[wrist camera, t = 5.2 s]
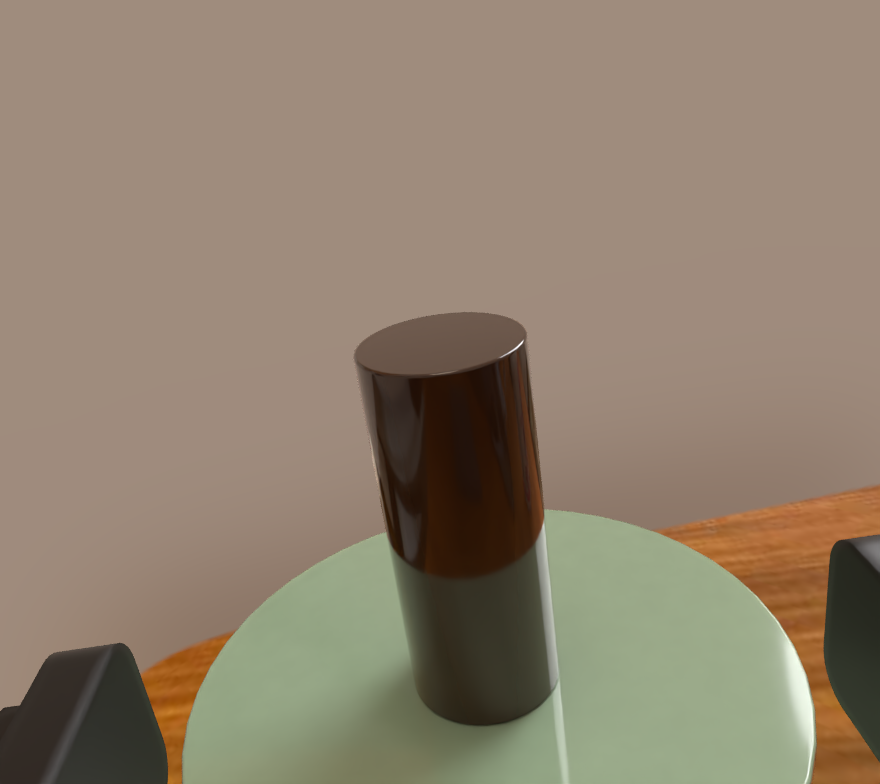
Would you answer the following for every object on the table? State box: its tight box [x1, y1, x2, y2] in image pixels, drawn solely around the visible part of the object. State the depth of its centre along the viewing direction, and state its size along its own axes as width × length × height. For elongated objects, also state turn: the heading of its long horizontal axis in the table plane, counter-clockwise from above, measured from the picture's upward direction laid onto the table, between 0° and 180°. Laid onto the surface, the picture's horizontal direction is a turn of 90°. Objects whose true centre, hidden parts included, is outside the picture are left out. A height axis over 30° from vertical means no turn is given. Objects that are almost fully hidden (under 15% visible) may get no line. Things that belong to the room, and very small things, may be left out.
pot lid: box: [182, 312, 817, 784], centre depth 15 cm, size 12×12×8 cm
